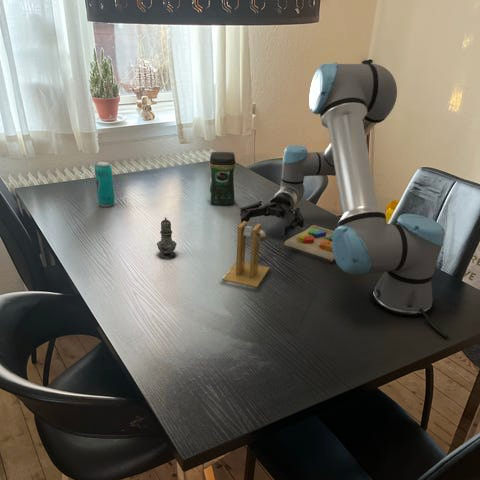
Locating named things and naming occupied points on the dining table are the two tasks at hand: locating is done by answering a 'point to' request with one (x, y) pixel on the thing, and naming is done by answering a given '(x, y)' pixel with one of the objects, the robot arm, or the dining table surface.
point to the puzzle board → (314, 242)
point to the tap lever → (249, 233)
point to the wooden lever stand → (244, 271)
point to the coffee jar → (222, 178)
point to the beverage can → (104, 183)
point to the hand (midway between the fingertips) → (263, 226)
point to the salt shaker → (166, 241)
